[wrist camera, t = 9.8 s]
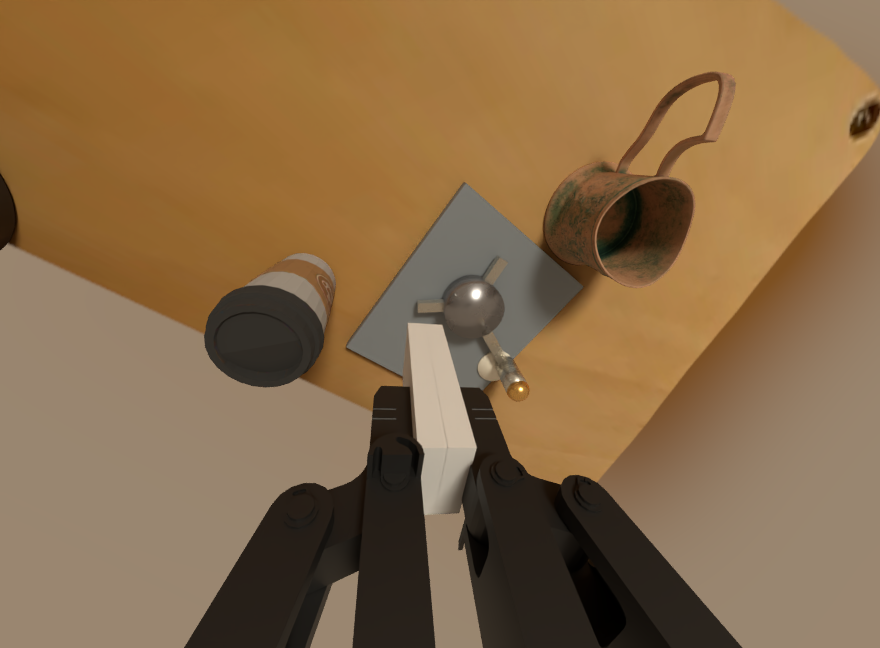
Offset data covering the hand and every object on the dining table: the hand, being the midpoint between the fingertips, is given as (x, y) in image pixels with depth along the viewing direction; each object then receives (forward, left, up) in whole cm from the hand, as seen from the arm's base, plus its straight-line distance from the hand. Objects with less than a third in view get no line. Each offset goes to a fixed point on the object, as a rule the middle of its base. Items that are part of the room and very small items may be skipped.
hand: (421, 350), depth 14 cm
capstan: (+15, -4, -23) cm, 28 cm away
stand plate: (+12, -4, -24) cm, 28 cm away
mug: (+15, +17, -25) cm, 34 cm away
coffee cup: (-6, -11, -25) cm, 28 cm away
